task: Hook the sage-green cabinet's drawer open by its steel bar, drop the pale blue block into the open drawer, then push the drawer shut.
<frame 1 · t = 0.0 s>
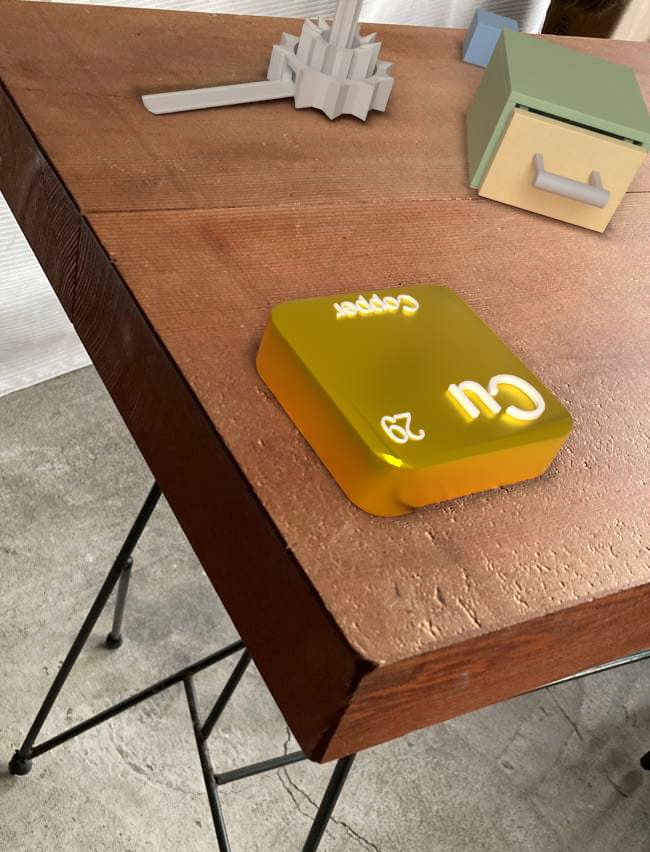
drawer: (556, 152, 84), point 5 cm above the table, slide at 0.5 cm
mechanical component: (277, 110, 88), on the table
cabinet: (529, 176, 91), on the table
block: (480, 65, 107), on the table
element tile: (397, 419, 62), on the table
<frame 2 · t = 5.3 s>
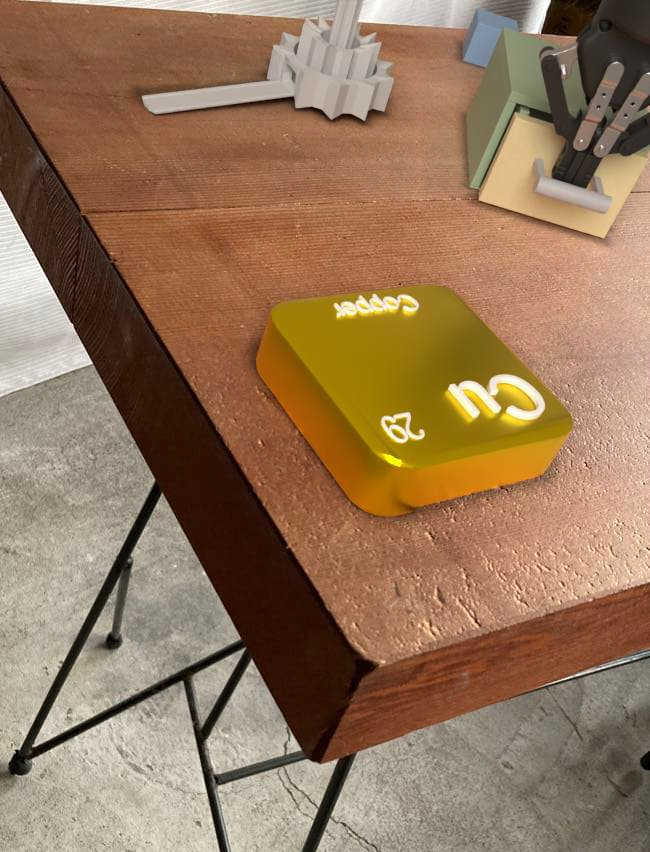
hand: (563, 191, 79), 5 cm above the table, tool pointing down, fingers closed
drawer: (557, 157, 84), point 5 cm above the table, slide at 1.4 cm
everything else where it was.
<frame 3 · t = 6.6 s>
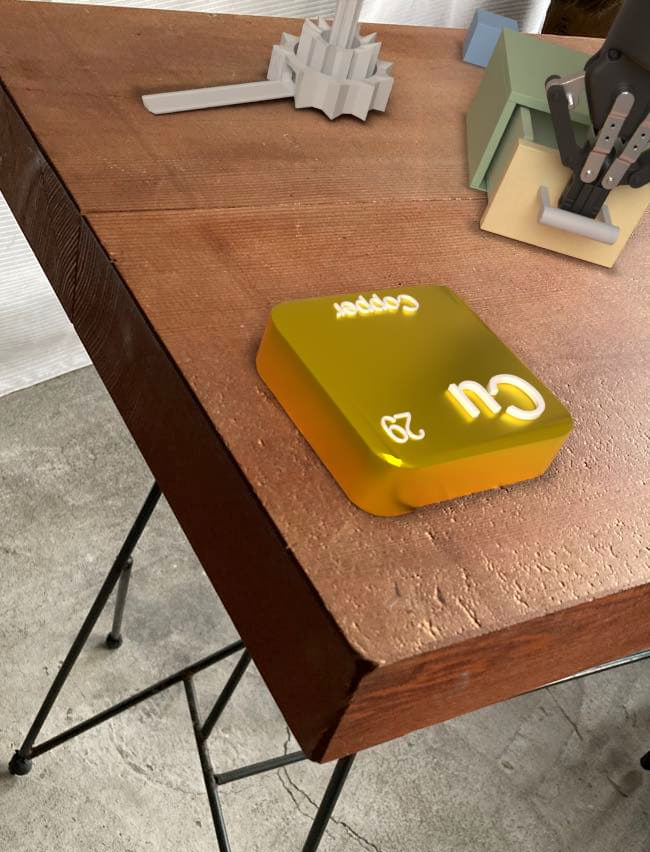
hand: (569, 223, 76), 5 cm above the table, tool pointing down, fingers closed
drawer: (562, 183, 80), point 5 cm above the table, slide at 6.3 cm
everything else where it was.
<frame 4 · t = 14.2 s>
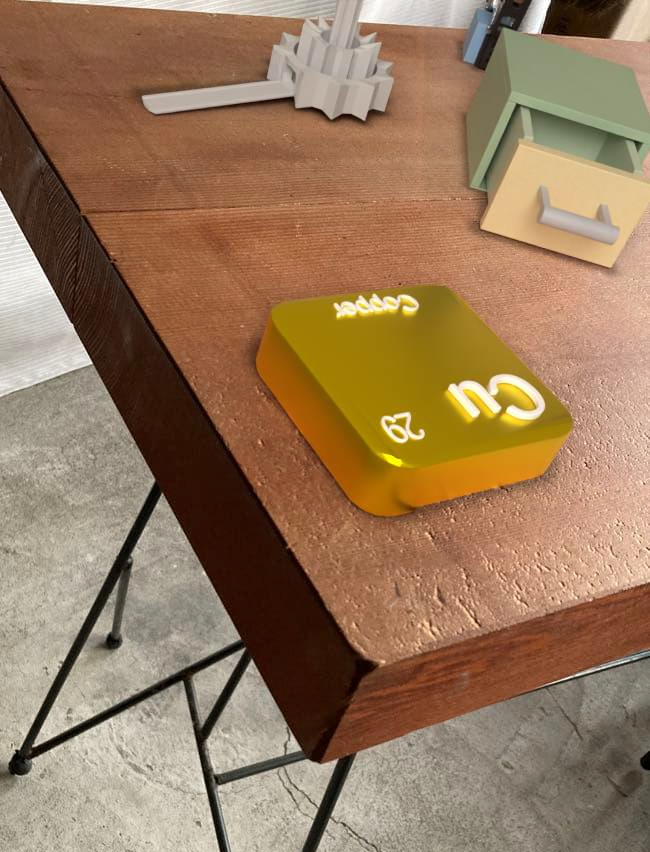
hand: (481, 61, 107), 0 cm above the table, tool pointing down, fingers closed on block, 4 cm apart
block: (480, 65, 107), on the table, touching gripper
everything else where it was.
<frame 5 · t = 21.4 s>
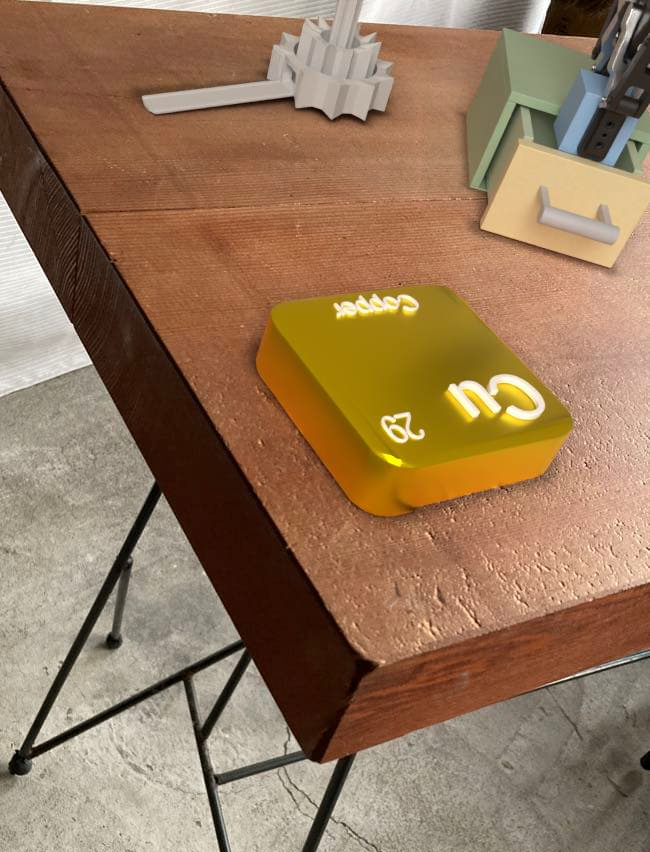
hand: (585, 141, 77), 8 cm above the table, tool pointing down, fingers closed on block, 4 cm apart
block: (582, 145, 78), point 8 cm above the table, touching gripper
everything else where it was.
when the fingers open (8 cm above the table, at t = 21.6 s): block drops 6 cm, resting on drawer.
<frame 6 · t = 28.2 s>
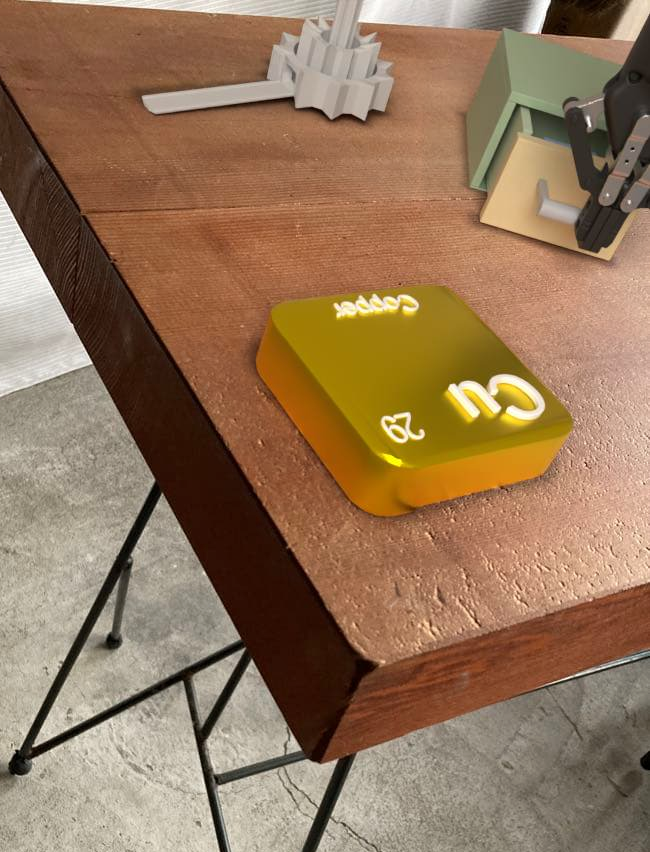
hand: (586, 245, 74), 4 cm above the table, tool pointing down, fingers closed
drawer: (561, 177, 81), point 5 cm above the table, slide at 5.1 cm, touching block, gripper
block: (547, 207, 83), point 2 cm above the table, touching drawer
everything else where it was.
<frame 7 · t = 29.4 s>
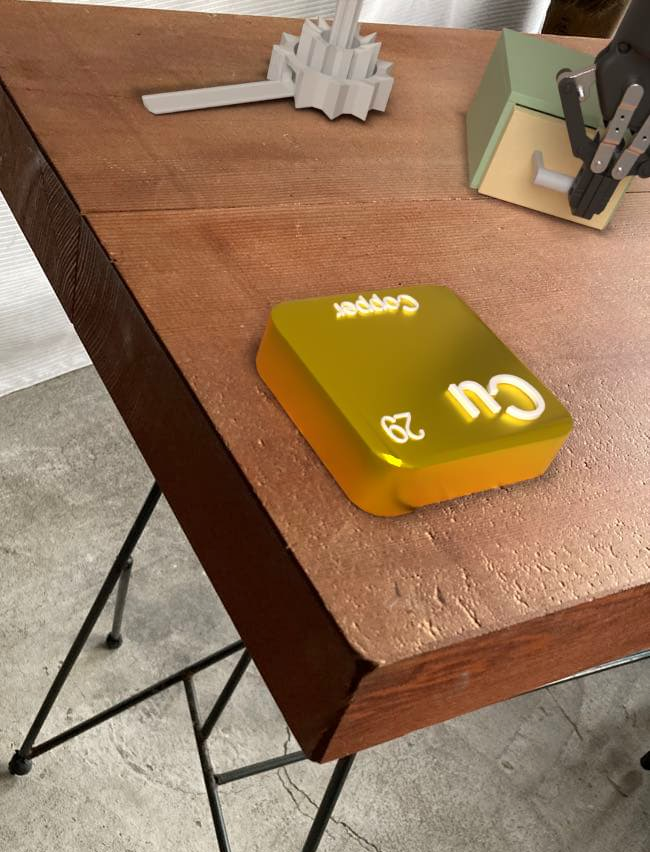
hand: (579, 213, 78), 4 cm above the table, tool pointing down, fingers closed
drawer: (555, 150, 85), point 5 cm above the table, slide at 0.0 cm, touching block, cabinet, gripper
block: (542, 179, 86), point 2 cm above the table, touching drawer
everything else where it was.
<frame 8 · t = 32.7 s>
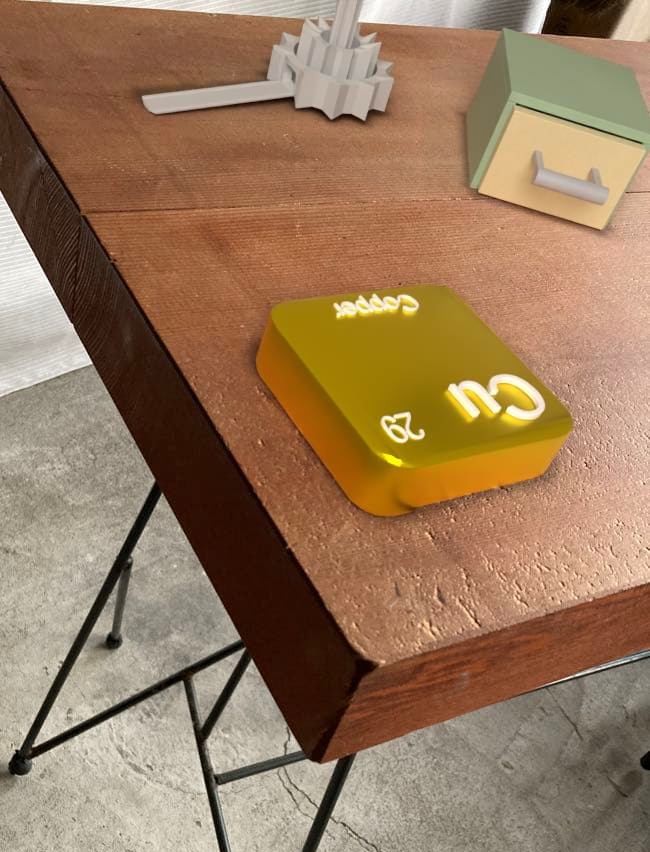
drawer: (555, 150, 85), point 5 cm above the table, slide at 0.0 cm, touching block
everything else where it was.
at the end: drawer pulled out 6.3 cm at the most during the clip, back to where it started at the end; block inside the target area in the cabinet (4.7 cm from its centre), point 2.0 cm above the cabinet's base; drawer slide at 0.0 cm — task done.
